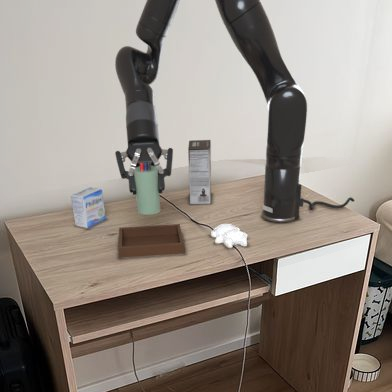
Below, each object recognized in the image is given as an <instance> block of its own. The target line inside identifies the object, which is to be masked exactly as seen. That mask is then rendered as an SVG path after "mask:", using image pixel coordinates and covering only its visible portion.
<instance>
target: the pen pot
mask: <svg viewBox="0 0 392 392" xmlns="http://www.w3.org/2000/svg"><path fill="white" fill-rule="evenodd" d="M134 180H135V190H136V195H135V202H136V209H137V210H136V211H137V213H138V214H139V215H143V216H151V215H155V214H159V213H160V212H161V209H162V208H161V197H160V194H161V193H159V181H158V168H157V167H155V166H151V163H150V162H147V163H146V162H145V163H142V162H141V163H140V166H139V167H136V168H134Z"/></svg>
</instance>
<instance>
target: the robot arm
mask: <svg viewBox="0 0 392 392" xmlns="http://www.w3.org/2000/svg"><path fill="white" fill-rule="evenodd" d="M180 1H181V0H146V1H145V4H144V7H143V9H142V11H141V14H140V17H139V20H138V22H137V24H136V29H135V35H136V36H137V38H138V39H139V40H140V41H142V42H143V43H144V44H146V45H147V49H146V52H145V51H142V50H140V49H138V48H136V47H133V46H130V45H125V46H123V47H121V48H119V50H118V51H117V53H116V56H115V62H114V63H115V64H114V67H115V68H114V69H115V72H116V76H117V79H118V81H119V85H120V87H121V89H122V93H123V95H124V101H125V129H126V139H127V141H126V142H127V147H126V151H120V150H116V151H115V154H114V155H115V158H116V159H115V160H116V164H117V168H118V170H119V171H118V172H119V174H120V178H121V179H122V180H123V179H126V180H127V181H128V189H129V192H130V193H132V196H134V195H135V196H136V190H135V180H134V168H136V167H139V166H140V163H141V162H142V163H145V162H146V163H147V162H150V163H151V166H155V167H157V168H158V181H159V194H163V192H164V191H165V190H166V184H165V183H166V182H165V178H166V177H170V176H171V175H172V169H173V160H174V159H173V157H174V149H173V148H172V147H168V149H163V148H162V147H161V145H160V137H159V123H158V116H157V112H156V103H155V95H154V94H155V92H154V89H153V88H152V87H151V85H152V84H153V83H154V82H155V81H156V80H157V78H158V75H159V71H160V66H161V65H160V64H161V58H162V53H163V47H164V44H165V40H166V37H167V36H168V33H169V31H170V28H171V26H172V23H173V22H174V19H175V16H176V14H177V10H178V7H179V4H180ZM214 1H215V4H216V8H217V10H218V13H219V16H220V18H221V20H222V24H223V25H224V28H225V29H226V31H227V33H228V35H229V37H230V39H231V41H232V42H233V45H234V46H235V47H236V49H237V51H238V53H239V54H240V56H241V57H242V59H243V60H244V61H245V62H246V64H247V65H248V66H249V68H250V69H251V71H252V72H253V74H254V75H255V77H256V79H257V81H258V83H259V86H260V88H261V91H262V93H263V96H264V98H265V102H266V105H267V110H268V118H267V138H266V142H265V143H266V144H265V163H264V164H265V167H264V170H265V171H264V185H263V190H264V191H263V204H262V205H261V206H262V207H261V209H262V218H263V219H264V220H266V221H268V222H271V223H290V222H294V221H295V220H296V221H297V220H299V218H300V208H302V207H304V203H305V204H307V205H308V206H309V210H310V211H313V210H314V206H315V205H322V206H325V207H327V208H332V209H342V208H345V207H346V206H347V205H348V204H349V203H350V202H355V199H354V197H352V196H350V197H348V198H347V199H346V200H345V202H343V203H342V204H331V203H328V202H325V201H321V200H316V201H313V202H311V201H310V200H308V199H305V198H304V197H303V196H302V195H301V194H302V184H301V182H300V180H301V168H302V157H303V147H304V145H305V144H304V143H305V137H306V127H307V120H308V119H307V118H308V117H307V116H308V101H307V96H306V95H305V93H304V91H303V90H302V88H301V87H300V86H299V84H298V82H297V81H296V80H295V78H294V77H293V75H292V74H291V71H290V70H289V69H288V66H287V65H286V63H285V60H284V59H283V57H282V55H281V52H280V49H279V45H278V41H277V39H276V36H275V33H274V30H273V27H272V24H271V22H270V20H269V17H268V14H267V13H266V10H265V8H264V6H263V5H262V2H261V1H260V0H214ZM162 156H163V158H164V160H166V165H165V168H163V167H162V165H161V163H160V161H159V160H160V159H161V157H162ZM126 158H128V160H129V161H130V162H131V163H130V167H129V170H126V167H125V164H124V163H125V162H126Z"/></svg>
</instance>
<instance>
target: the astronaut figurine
mask: <svg viewBox="0 0 392 392" xmlns="http://www.w3.org/2000/svg"><path fill="white" fill-rule="evenodd" d="M210 236H211V238H215V240H214V243H215V244H221V243H222V244H224V246H225V247H227V248H229V249H232V248H233V246H235V245H240V246H241V247H247V246H248V239H247V238H248V233H246V232H244V231H241V229H240V228H239V227H237V226H236V225H234V224H231V223H221V224H219V225H216V226H215V227H214V228H213V230H211V232H210Z"/></svg>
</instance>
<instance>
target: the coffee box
mask: <svg viewBox="0 0 392 392" xmlns="http://www.w3.org/2000/svg"><path fill="white" fill-rule="evenodd" d="M187 151H188V152H187V153H188V182H189V183H188V184H189V185H188V186H189V204H190V205H211V203H212V141H211V139H198V140H197V139H196V140H194V139H193V140H189V141H188V148H187Z"/></svg>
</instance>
